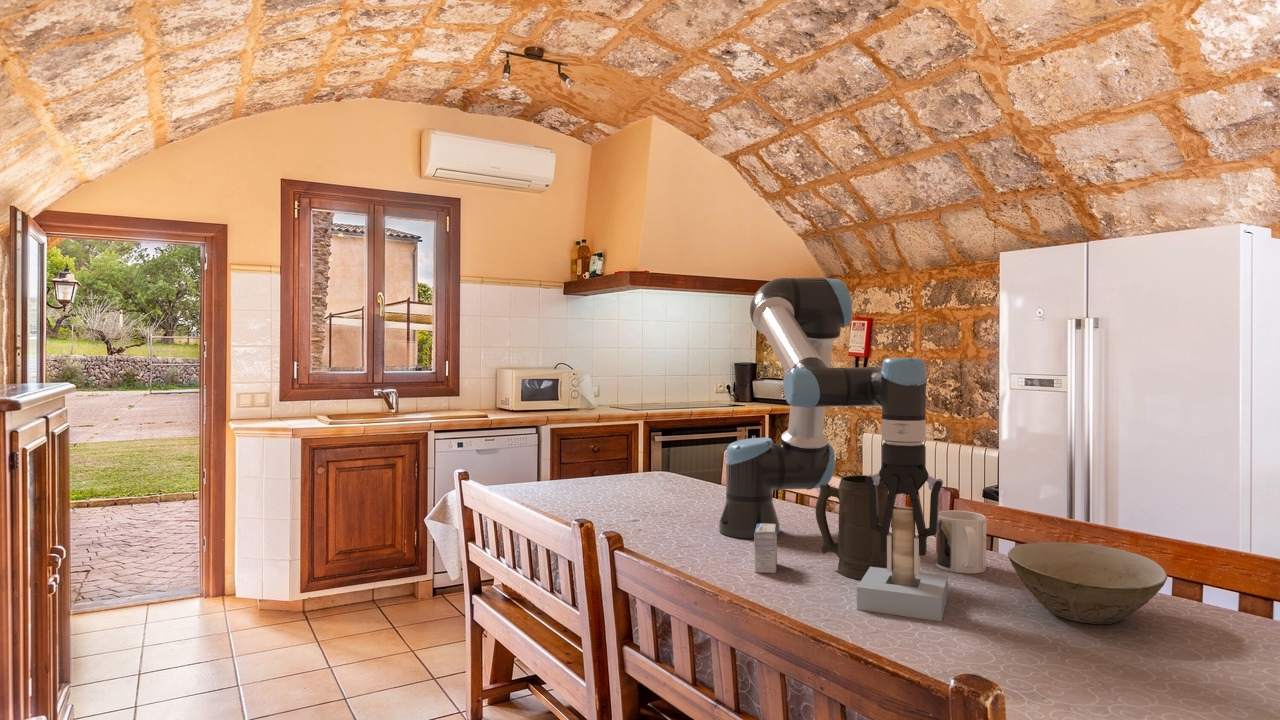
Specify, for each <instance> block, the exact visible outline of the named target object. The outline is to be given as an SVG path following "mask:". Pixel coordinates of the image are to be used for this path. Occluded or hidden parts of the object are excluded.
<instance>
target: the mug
mask: <svg viewBox="0 0 1280 720" xmlns="http://www.w3.org/2000/svg"><path fill="white" fill-rule="evenodd" d="M935 565H936V567H937V568H939V569H941V570H944V571H947V572H952V573H955V574H969V575H970V574H982V573H985V571H986V569H987V517H986V515H984V514H981V513H978V512H973V511H967V510H966V511H965V510H950V509H949V510H940V511H938V528H937V533H936V535H935Z"/></svg>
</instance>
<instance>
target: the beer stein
mask: <svg viewBox="0 0 1280 720" xmlns="http://www.w3.org/2000/svg"><path fill="white" fill-rule="evenodd" d="M867 476H868V475H865V474H863V475H862V474H860V475H859V474H858V475H846V476H842V477H841V478H840V481H839V485H838V487H835V486H831V485H830V484H829V483H828V484H827V483H825V484H820V488H819V494H818V498H817V499H816V500H817V501H816V502H815V503H816V504H815V518H816V524H817V526H818V529H819V531H820V533H821V536H822V541H823V542H822V543H821V545H820V551H821V553H822V554H826V553H833V554H835V555H836V556H837V557H838V559H839V560H838V565H837V571H838V572H839V574H841V575H842V576H844V577H848V578H850V579H855V580H860V581H861V580H862V578H863V577H864V575H865V574H866V572H867V571H868V569H869V568H870V567H878V568H886V569H887V552H883V551H882V550H881V534H880V533H879V532H878V531H876V530H872V529H871V527H870V505H869V489H868V486H867V484H866V481H865V478H866V477H867ZM879 482H880V483H879V485H878V486H877V487H878V507H879V523H880V524H882V522H883V517H884V512H885V508H886V503H887V498H888V492H889V489H888V487H887V486H886V485H885V483H884V482H883V481H882V479H881V478H880V480H879ZM831 497H832V498H837V499H838V502H839V503H838V504H839V505H838V535H837V537H838V538H837V539H838V540H837V541H838V542H835V541H834V540H833V538H832V535H831V532H830V528H829V524H828V519H827V514H826V512H827V508H826V507H827V506H826V505H827V501H828V499H829V498H831Z"/></svg>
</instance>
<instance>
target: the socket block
mask: <svg viewBox="0 0 1280 720" xmlns="http://www.w3.org/2000/svg"><path fill="white" fill-rule="evenodd" d="M948 578H949V577H948V575H943V574H935V573H928V572H927V573H926V572H920V573H919V575H915V587H910V586H902V585H894V584H892V572H888V571H887V569H886V568H878V567H870V568H869V569H868V571H867V572H866V574H865V575H864V577H863V578H862V580H860V582H859V583H858V585H857V586H856V610H858V611H865V612H866V611H867V612H872V613H881V614H886V615H887V614H888V615H895V616H902V617H908V618H916V619H922V620H930V621H935V622H936V621H937V622H942V620H943V618H944V617H943V616H944V612H945V610H946V609H945V608H946V605H947V601H948V598H949V597H948V596H949V594H948V590H949V589H948V588H949V586H948V585H949V584H948V583H949V582H948V580H949V579H948Z"/></svg>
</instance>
